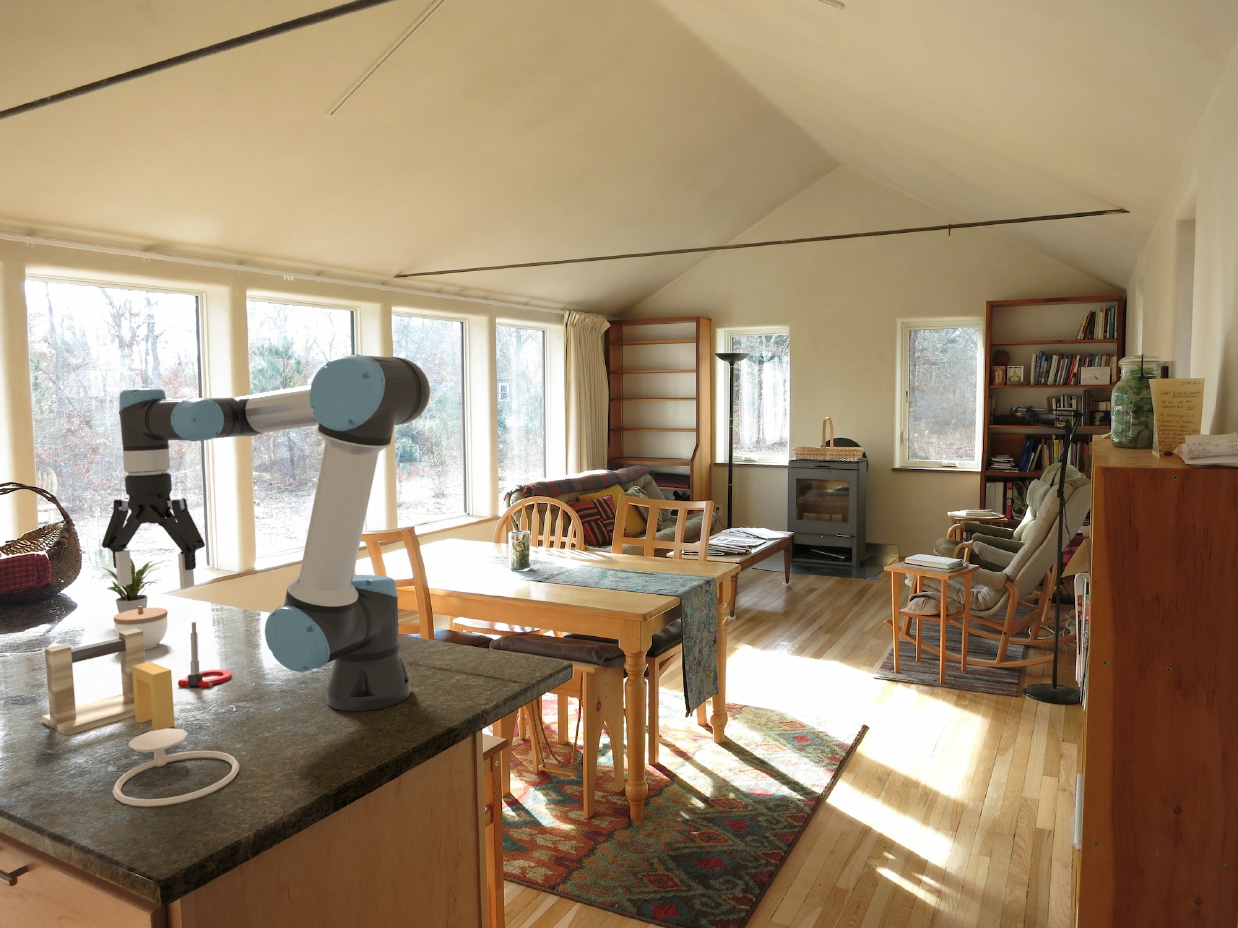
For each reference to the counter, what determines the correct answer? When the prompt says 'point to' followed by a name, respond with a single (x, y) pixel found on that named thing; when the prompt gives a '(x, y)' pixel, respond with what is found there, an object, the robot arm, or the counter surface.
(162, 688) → the yellow u-shaped bracket
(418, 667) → the counter surface
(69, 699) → the wooden crossbar stand
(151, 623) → the lidded jar
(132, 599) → the house plant
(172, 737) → the hand towel holder
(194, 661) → the tow hook
